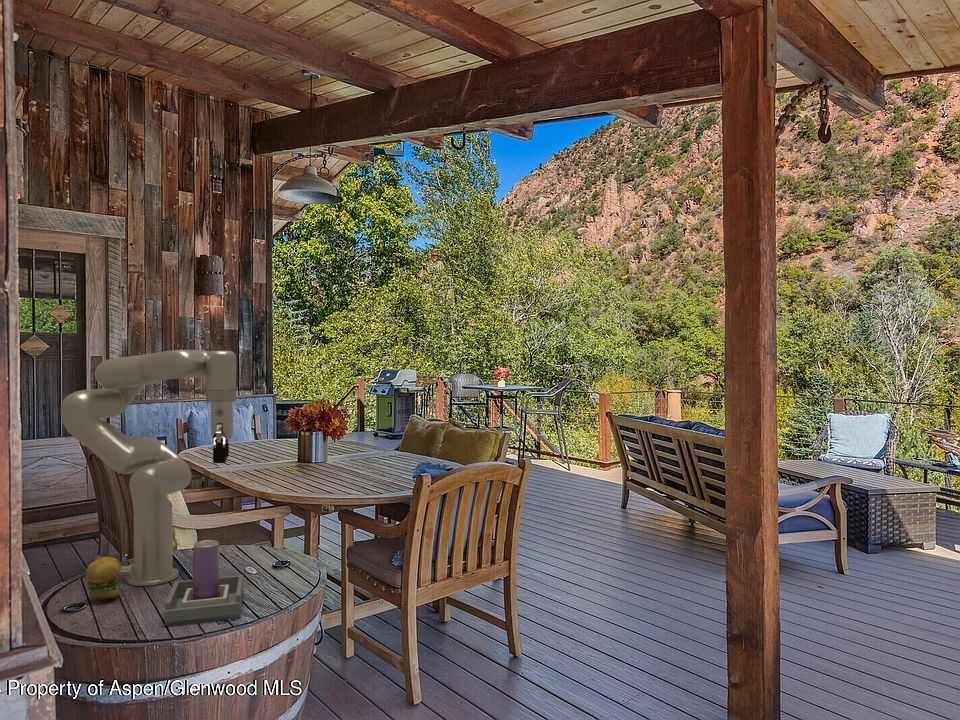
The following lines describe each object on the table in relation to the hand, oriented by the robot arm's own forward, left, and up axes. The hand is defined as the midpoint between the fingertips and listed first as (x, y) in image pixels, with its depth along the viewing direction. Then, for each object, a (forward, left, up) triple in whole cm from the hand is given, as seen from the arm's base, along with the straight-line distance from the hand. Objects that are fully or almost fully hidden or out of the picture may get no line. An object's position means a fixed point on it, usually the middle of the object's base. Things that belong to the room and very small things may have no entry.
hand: (221, 460), depth 172 cm
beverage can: (-2, -18, -32) cm, 37 cm away
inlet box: (-2, -18, -33) cm, 38 cm away
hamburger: (-27, -4, -34) cm, 43 cm away
